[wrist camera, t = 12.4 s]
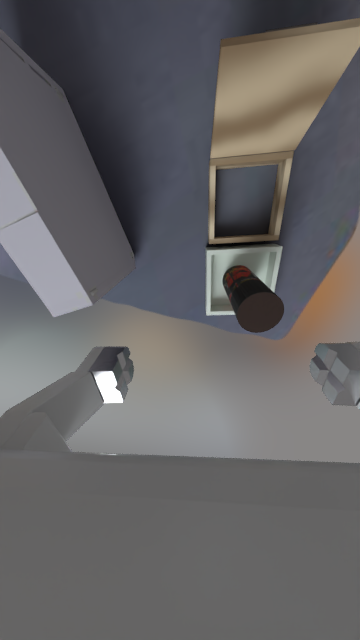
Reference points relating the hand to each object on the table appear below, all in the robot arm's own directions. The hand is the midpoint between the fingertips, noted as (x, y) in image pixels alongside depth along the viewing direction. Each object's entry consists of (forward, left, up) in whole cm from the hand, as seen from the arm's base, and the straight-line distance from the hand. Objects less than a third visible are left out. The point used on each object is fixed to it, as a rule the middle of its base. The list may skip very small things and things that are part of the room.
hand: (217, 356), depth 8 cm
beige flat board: (-15, +7, -23) cm, 29 cm away
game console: (-10, -19, -32) cm, 38 cm away
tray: (+6, +7, -32) cm, 33 cm away
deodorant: (+6, +7, -31) cm, 33 cm away
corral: (-7, +7, -32) cm, 33 cm away
